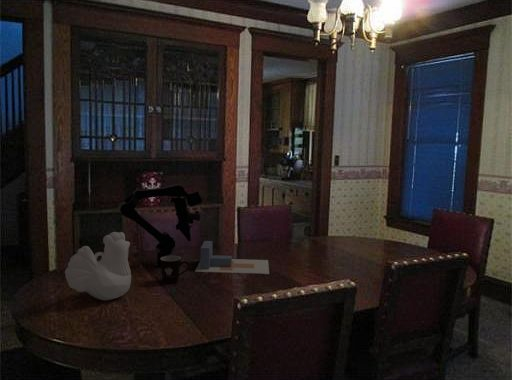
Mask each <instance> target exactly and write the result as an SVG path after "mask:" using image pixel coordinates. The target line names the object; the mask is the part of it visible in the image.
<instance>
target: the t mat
mask: <svg viewBox="0 0 512 380" xmlns="http://www.w3.org/2000/svg"><path fill="white" fill-rule="evenodd" d="M200 267H201V259H200V260H199V262H198V265H197V267H196V268H195V271H194V272H197V273H198V272H200V273H201V272H203V273H230V274H231V273H234V274H235V273H236V274H262V275H270V267H269V260H268V259H245V258H243V259H241V258H240V259H238V258H232V265H231V267H216V266H210V268H209V269H200Z"/></svg>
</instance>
